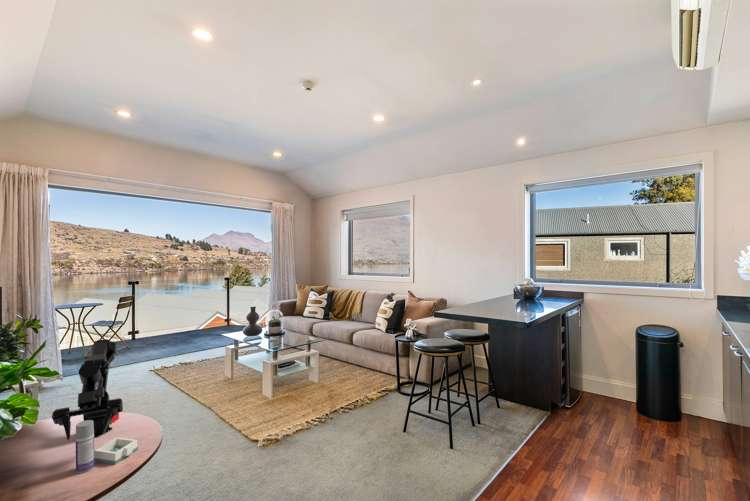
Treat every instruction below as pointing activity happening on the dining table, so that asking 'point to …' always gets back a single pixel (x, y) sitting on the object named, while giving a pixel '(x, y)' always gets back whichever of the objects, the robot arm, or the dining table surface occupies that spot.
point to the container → (84, 446)
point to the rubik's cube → (114, 418)
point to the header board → (115, 450)
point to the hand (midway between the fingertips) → (86, 435)
